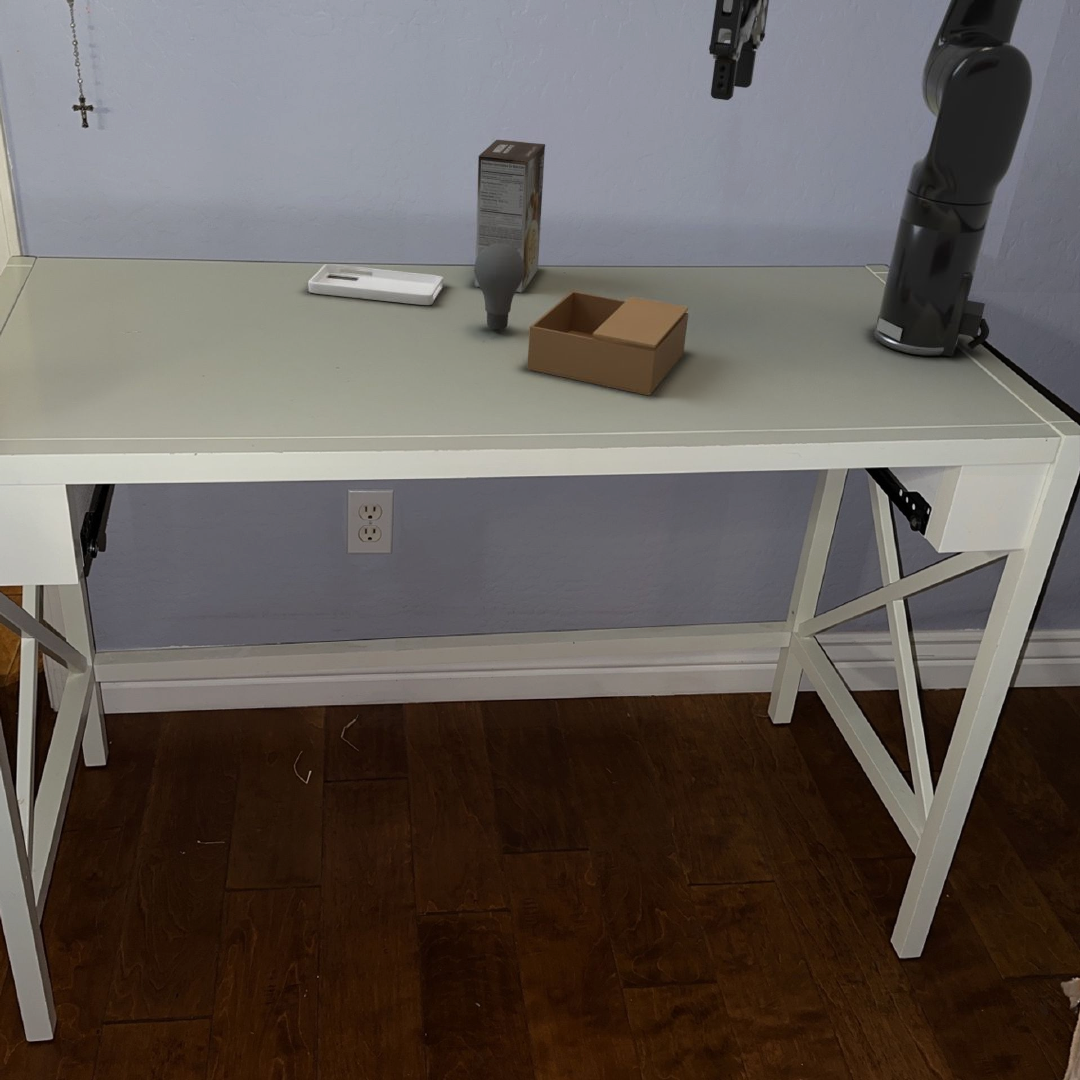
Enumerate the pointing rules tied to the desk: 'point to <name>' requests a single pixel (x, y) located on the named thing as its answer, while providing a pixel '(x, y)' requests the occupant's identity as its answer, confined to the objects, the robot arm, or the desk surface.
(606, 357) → the carton
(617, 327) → the flap
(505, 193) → the coffee box
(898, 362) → the desk surface
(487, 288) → the light bulb
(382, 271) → the phone case
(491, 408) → the desk surface
